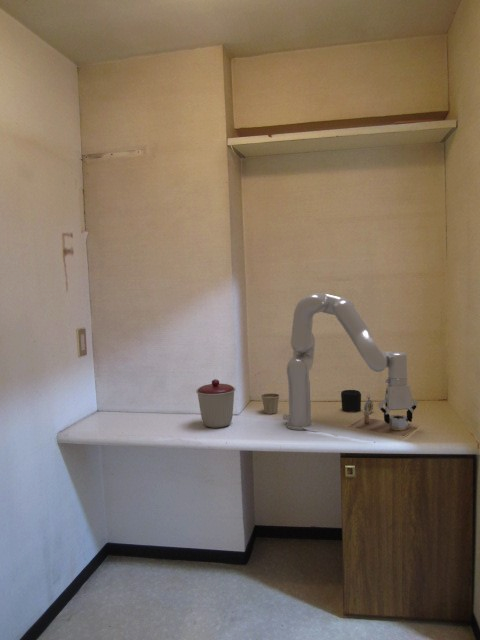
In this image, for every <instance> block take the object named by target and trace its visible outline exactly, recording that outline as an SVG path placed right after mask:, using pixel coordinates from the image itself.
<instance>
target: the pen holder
mask: <svg viewBox="0 0 480 640" xmlns="http://www.w3.org/2000/svg"><path fill="white" fill-rule="evenodd" d="M340 397H341V411H343V412H345V413H358V412H361V410H362V393H361V391H359V390H356V389H345V390H344V389H343V390H342V391H341V393H340Z"/></svg>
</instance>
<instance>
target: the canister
mask: <svg viewBox="0 0 480 640" xmlns="http://www.w3.org/2000/svg"><path fill="white" fill-rule="evenodd" d="M235 391H236V387H235V386H233V385H231V384H228V383H220V380H219V379H216V378H215V379H212V380H211V383H209V384H205V385H204V384H203V385H202V386H199V387H198V388H197V389H196V390H195V392H196V394H197V397H198V405H199V410H200V416H201V421H202V423H203V425H204V426H205V427H208V428H215V429H217V428H224V427H228V426H229V425H230V424H231V423H232V421H233V415H234V413H233V412H234V402H235Z"/></svg>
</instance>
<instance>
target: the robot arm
mask: <svg viewBox="0 0 480 640" xmlns="http://www.w3.org/2000/svg"><path fill="white" fill-rule="evenodd" d="M319 313H322V314H323V313H324V314H327V315H333V316H335V317H336V320H338V322H339V323H340V325H341V326H342V327H343V329H344V330H345V332H346V333H347V335H348V337H349V338H350V340H351V342H352V343H353V345H354V346H355V348H356V350H357V351H358V353H359V355H360V356H361V358H362V359H363V360H364V363H366V365H367V366H368V367H369V369H370V370H372V371H373V372H376V373H380V372H383V371H385V370H386V368H387V379H385V380H384V382H385V383H386V387H385V388H386V389H385V393H384V395H385V396H384V399H383V400H381V401H379V402H378V403H377V406H378V408H379V410H380V411H381V412H382V413H383V420H384V421H385V422H386V423H387V424H389V423H390V416H391V415H390V414H389V413H390V412H391V411H398V410H399V411H402V410H406V417H408V423H409V422H410V423H412V421H413V413H414V412H415V411H414V410H416V409H417V406H418V404H419V400H417V399H414V398H413V397H412V391H411V387H410V384H409V383H408V355H407V353H406V352H404V351H386V350H385V351H384V350H380V348H379V347H378V346H377V344H376V342H375V341H374V339H373V336H372V334H371V332H370V329H369V327H368V325H367V324H366V322H365V321H364V319H363V318H362V317H361V315H360V314H359V312H358V311H357V309H356V308H355V304H354V302H353V301H352V300H351V299H349V298H347V297H341V296H337V295H333V294H329V293H323V292H316V293H311V294H309V295H307V296H305V297H302V298H301V299H300V300H299V301H298V303H296V306H295V308H294V312H293V317H292V318H293V320H292V325H291V336H290V347H291V349H292V350H293V351H292V357H290V359H289V360H288V361H287V364H286V375H287V385H288V388H287V389H288V410H289V411H288V412H289V414H288V413H287V414H286V413H284V414H283V415H282V420H286V425H285V427H287V429H289V430H294V431H306V430H307V428H311V427H313V426H314V425H315V422H314V421H313V420H312V410H311V409H312V407H311V406H312V405H311V385H310V384H311V383H310V382H311V381H310V371H311V369H312V367H313V363H314V356H315V343H316V339H315V336H314V333H313V324H314V323H313V320H314V319H313V318H314V316H315V315H316V314H319ZM383 406H385V407H383Z"/></svg>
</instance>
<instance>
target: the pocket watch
mask: <svg viewBox="0 0 480 640" xmlns="http://www.w3.org/2000/svg"><path fill="white" fill-rule="evenodd" d="M366 397H367V400H366V401H365V404H364V405H363V407H364V409H363V410H364V411H369V415H370V414H371V413H372V412H373V410H374V403H373V400H371V396H370V394H367V395H366Z"/></svg>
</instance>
